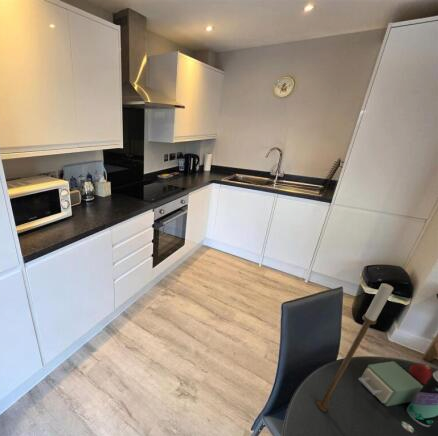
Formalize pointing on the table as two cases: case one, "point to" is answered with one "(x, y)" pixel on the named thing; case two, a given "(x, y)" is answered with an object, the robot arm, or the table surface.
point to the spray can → (425, 403)
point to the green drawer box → (397, 382)
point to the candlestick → (345, 363)
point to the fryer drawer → (376, 385)
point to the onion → (421, 373)
